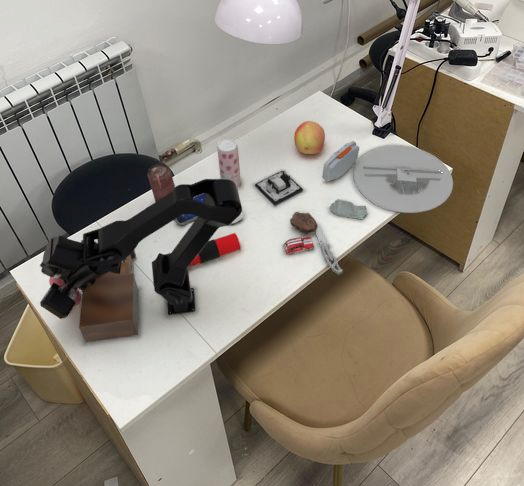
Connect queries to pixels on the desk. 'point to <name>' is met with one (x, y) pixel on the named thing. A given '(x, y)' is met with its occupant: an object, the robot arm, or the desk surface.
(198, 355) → the desk surface
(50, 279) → the lotion bottle
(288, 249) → the toy car
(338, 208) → the stone tool
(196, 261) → the dynamite stick
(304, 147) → the apple
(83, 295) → the cabinet
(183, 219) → the smartphone
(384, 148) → the plate
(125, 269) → the drawer
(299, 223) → the stone
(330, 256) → the knife
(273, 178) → the light switch
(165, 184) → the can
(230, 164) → the beverage can
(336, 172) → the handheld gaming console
